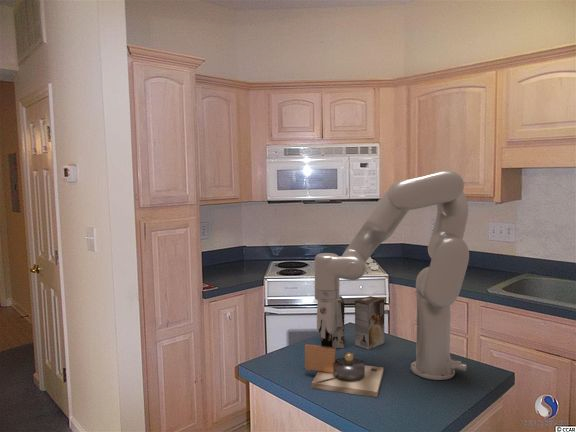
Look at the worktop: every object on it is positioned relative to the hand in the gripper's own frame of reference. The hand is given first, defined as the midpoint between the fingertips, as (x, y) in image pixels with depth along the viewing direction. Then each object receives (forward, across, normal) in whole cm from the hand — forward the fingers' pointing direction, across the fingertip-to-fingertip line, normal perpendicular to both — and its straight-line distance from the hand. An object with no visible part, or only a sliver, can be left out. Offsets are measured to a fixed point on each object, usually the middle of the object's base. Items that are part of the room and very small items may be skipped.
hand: (326, 352), depth 135 cm
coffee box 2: (+5, +23, -10) cm, 26 cm away
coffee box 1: (+5, +20, +2) cm, 21 cm away
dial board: (+5, -7, -8) cm, 12 cm away
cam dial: (+3, -7, -4) cm, 9 cm away
